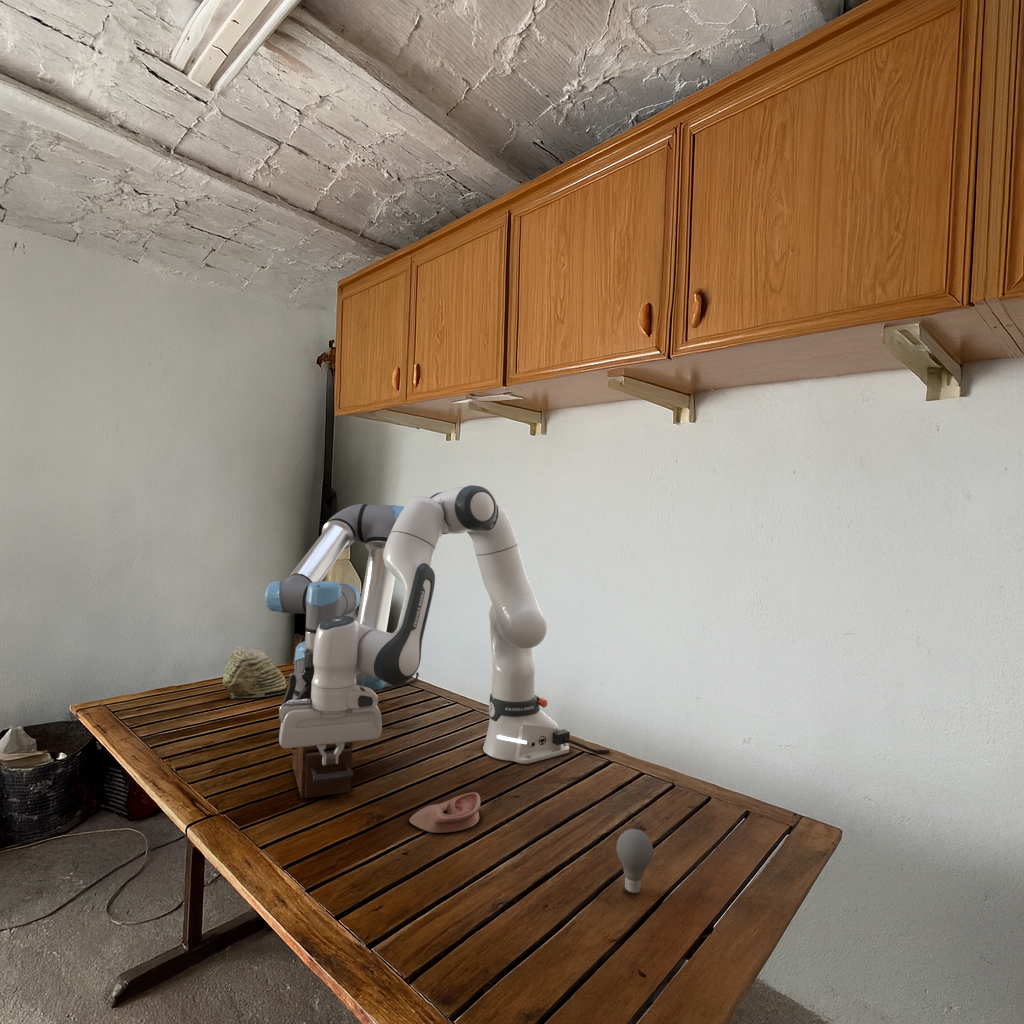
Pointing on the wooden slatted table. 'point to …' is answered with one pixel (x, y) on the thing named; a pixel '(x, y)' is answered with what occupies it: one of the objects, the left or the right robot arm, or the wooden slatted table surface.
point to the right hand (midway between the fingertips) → (330, 763)
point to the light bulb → (634, 857)
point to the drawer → (327, 774)
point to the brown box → (300, 763)
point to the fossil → (252, 674)
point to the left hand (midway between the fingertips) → (318, 744)
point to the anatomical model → (449, 814)
